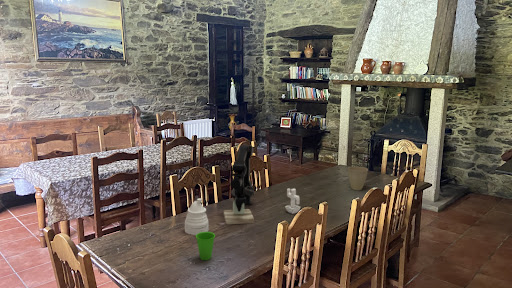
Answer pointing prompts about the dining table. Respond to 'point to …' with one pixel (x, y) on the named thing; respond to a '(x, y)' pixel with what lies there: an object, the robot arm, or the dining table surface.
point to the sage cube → (237, 209)
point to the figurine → (293, 201)
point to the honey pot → (196, 219)
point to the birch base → (238, 217)
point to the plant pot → (357, 177)
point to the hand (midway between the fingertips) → (238, 209)
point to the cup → (205, 244)
